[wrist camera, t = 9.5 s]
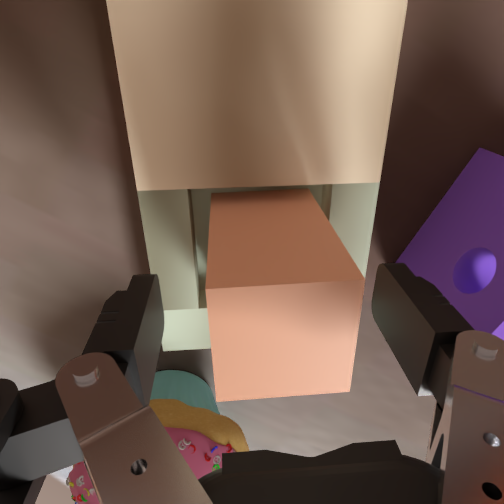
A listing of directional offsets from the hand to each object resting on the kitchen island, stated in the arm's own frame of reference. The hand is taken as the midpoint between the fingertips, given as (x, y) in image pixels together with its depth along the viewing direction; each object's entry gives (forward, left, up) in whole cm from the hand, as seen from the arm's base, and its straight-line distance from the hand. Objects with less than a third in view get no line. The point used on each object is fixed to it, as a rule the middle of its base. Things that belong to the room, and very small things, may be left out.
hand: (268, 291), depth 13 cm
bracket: (-14, +2, -6) cm, 15 cm away
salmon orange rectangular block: (0, 0, -4) cm, 4 cm away
